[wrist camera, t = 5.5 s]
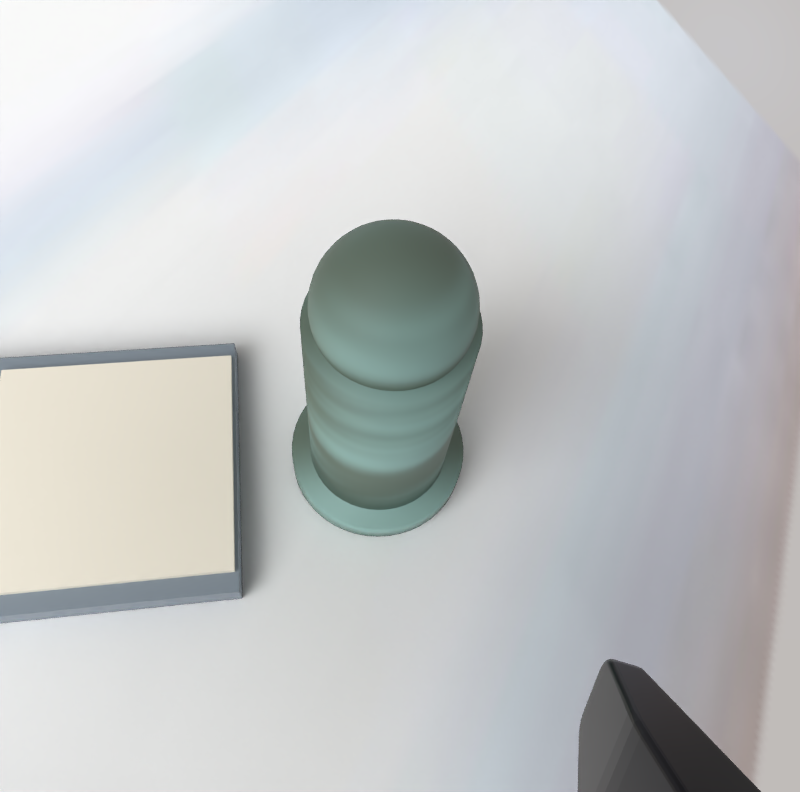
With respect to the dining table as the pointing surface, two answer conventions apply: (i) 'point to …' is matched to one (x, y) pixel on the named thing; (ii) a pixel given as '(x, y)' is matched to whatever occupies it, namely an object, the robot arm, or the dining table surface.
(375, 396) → the game pawn
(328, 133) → the dining table surface
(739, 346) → the dining table surface
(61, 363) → the game board
